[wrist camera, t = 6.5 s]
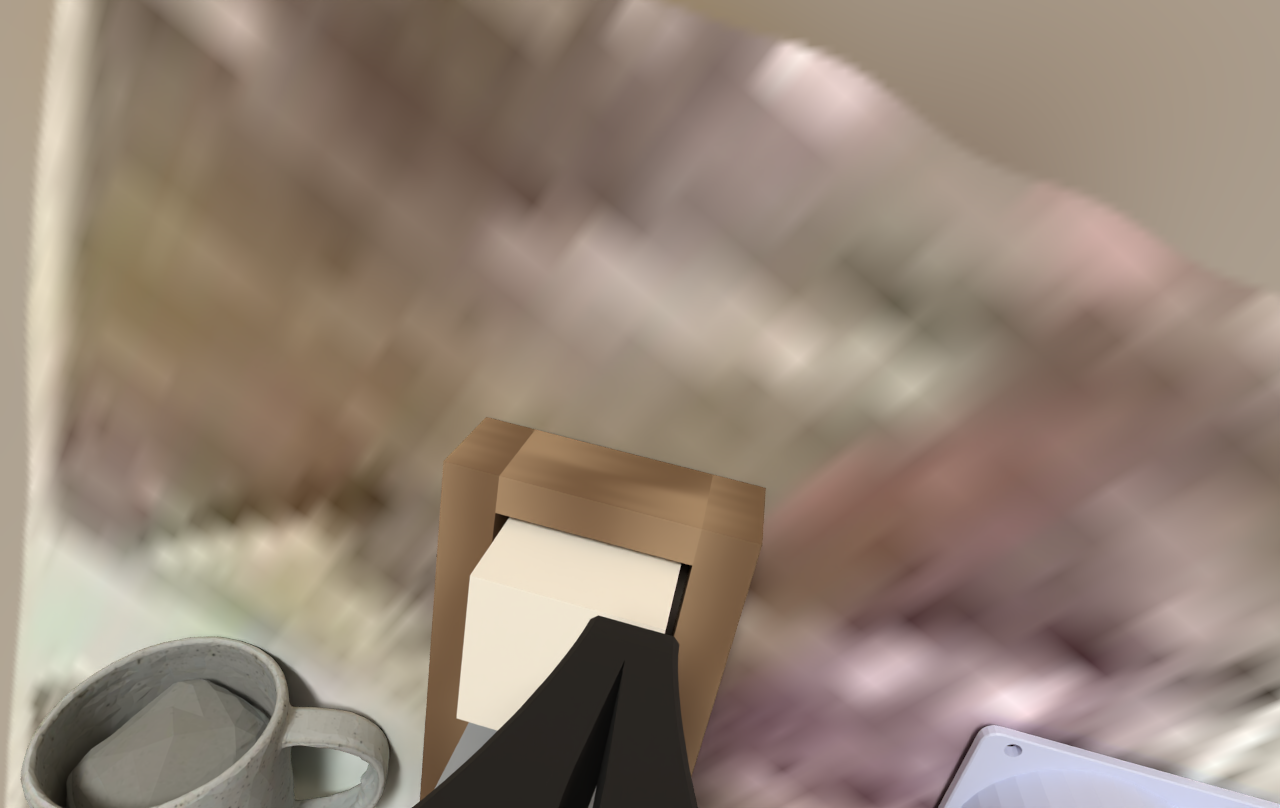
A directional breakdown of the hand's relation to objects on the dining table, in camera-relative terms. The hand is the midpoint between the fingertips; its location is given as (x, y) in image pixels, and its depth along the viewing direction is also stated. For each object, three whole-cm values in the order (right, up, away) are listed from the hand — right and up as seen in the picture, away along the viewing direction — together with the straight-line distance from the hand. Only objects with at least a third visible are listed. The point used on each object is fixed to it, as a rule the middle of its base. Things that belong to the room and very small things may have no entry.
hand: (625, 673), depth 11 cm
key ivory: (-1, -1, +11) cm, 11 cm away
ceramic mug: (-15, -9, +19) cm, 25 cm away
